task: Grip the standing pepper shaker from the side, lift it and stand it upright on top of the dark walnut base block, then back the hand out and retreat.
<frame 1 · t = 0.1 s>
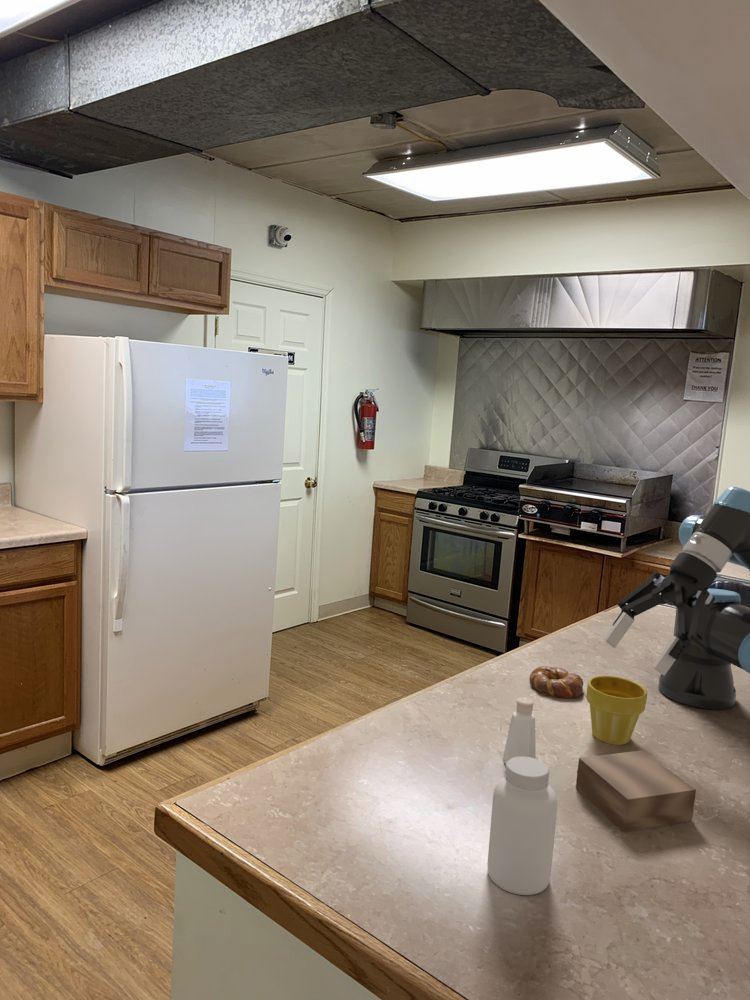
hand: (632, 657, 132), 15 cm above the counter, tool tilted 35°, fingers open, 13 cm apart
pill bottle: (517, 877, 93), on the counter
braided bread ring: (554, 689, 155), on the counter
pepper shaker: (519, 763, 122), on the counter
plant pot: (611, 737, 134), on the counter
walnut base: (631, 803, 112), on the counter
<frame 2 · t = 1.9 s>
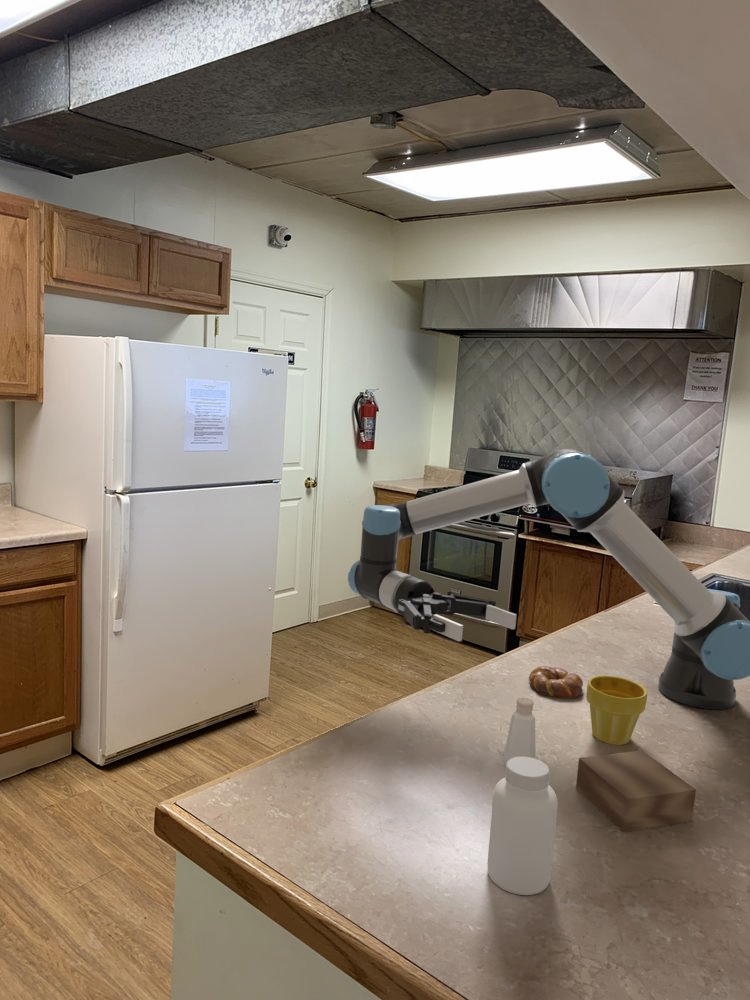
hand: (488, 627, 127), 21 cm above the counter, tool horizontal, fingers open, 13 cm apart
nothing on the counter moved.
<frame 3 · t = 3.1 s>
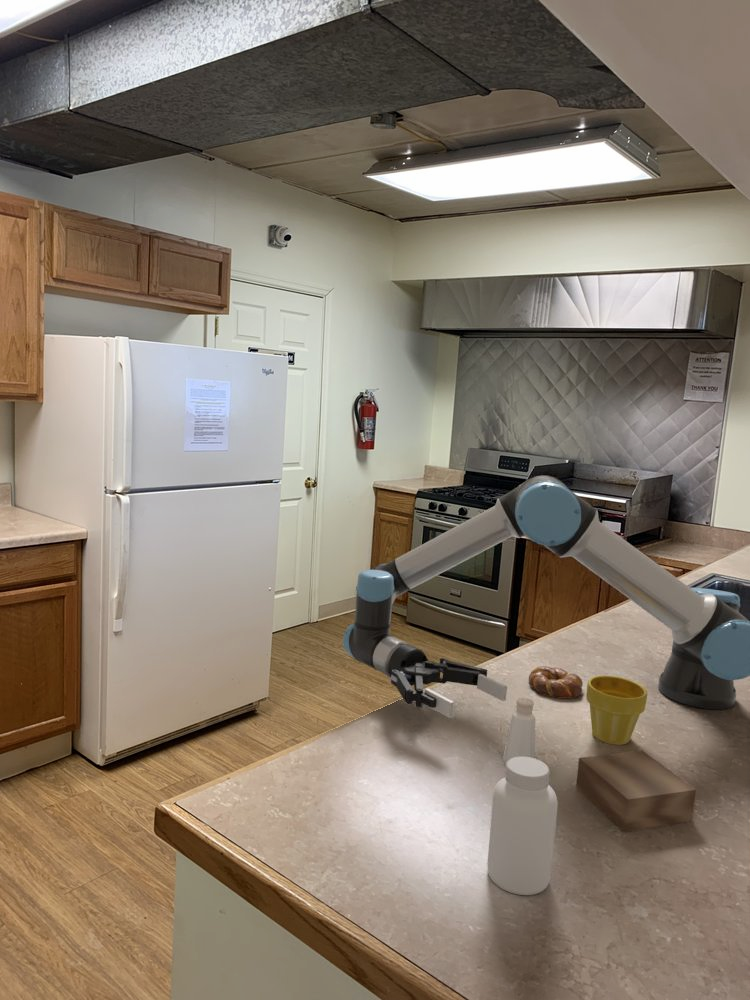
hand: (479, 701, 129), 7 cm above the counter, tool horizontal, fingers open, 13 cm apart
nothing on the counter moved.
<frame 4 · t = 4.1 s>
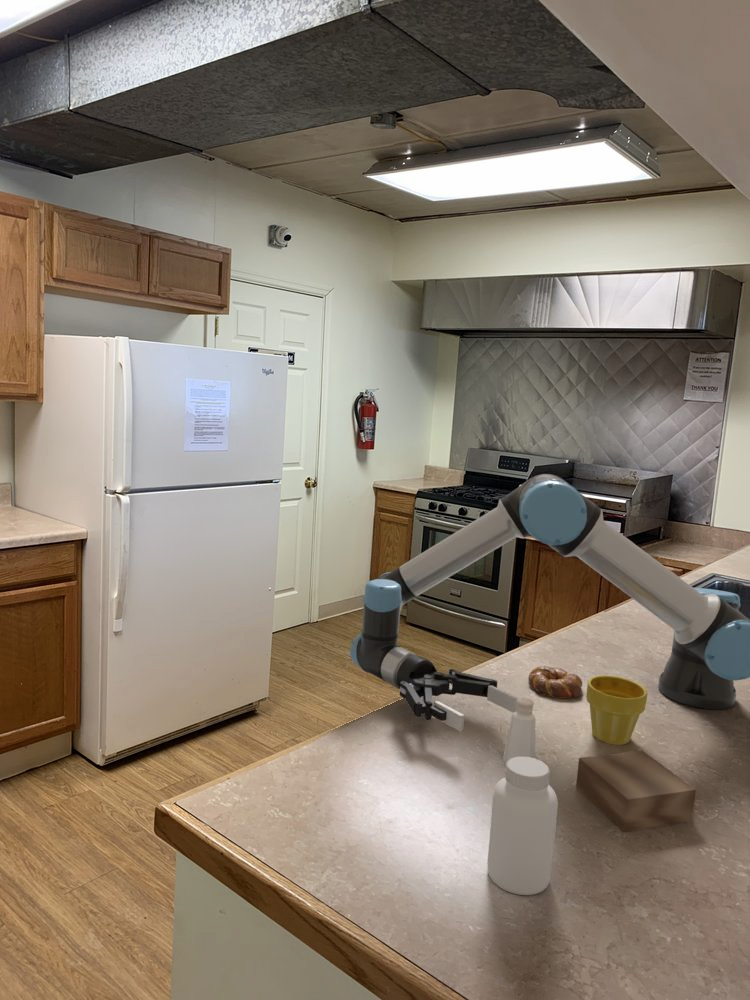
hand: (490, 714, 127), 6 cm above the counter, tool horizontal, fingers open, 13 cm apart
nothing on the counter moved.
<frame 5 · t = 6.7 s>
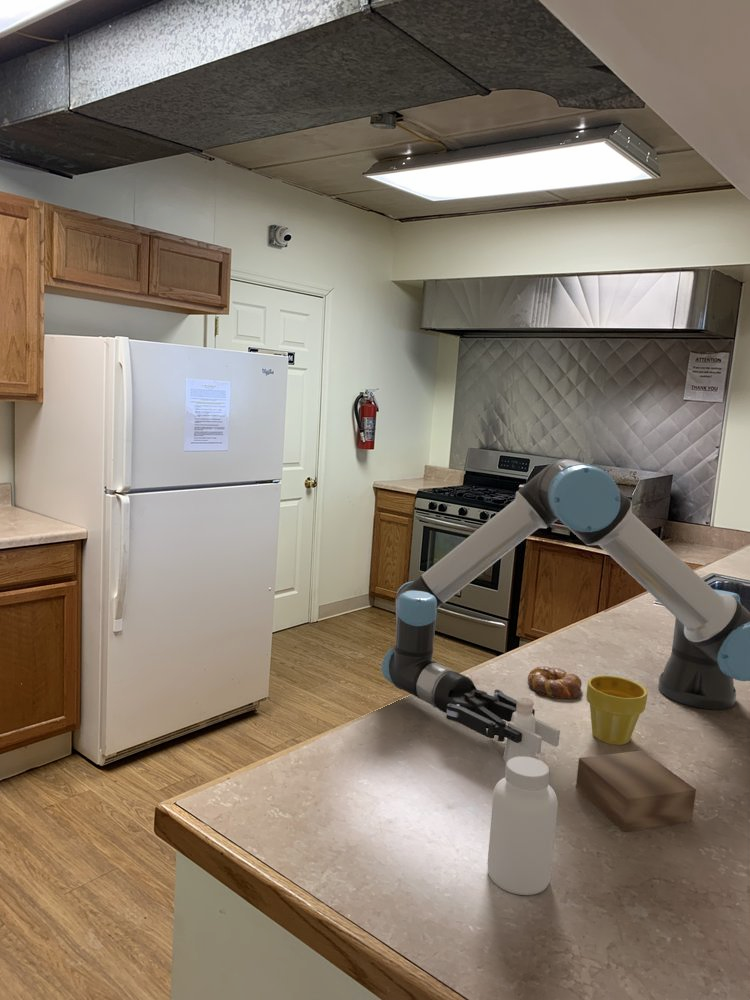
hand: (548, 741, 117), 6 cm above the counter, tool horizontal, fingers closed on pepper shaker, 4 cm apart
pepper shaker: (519, 763, 122), on the counter, touching gripper
everything else where it was.
when the fingers open (12 cm above the counter, at t = 11.5 s): pepper shaker drops 1 cm, resting on walnut base.
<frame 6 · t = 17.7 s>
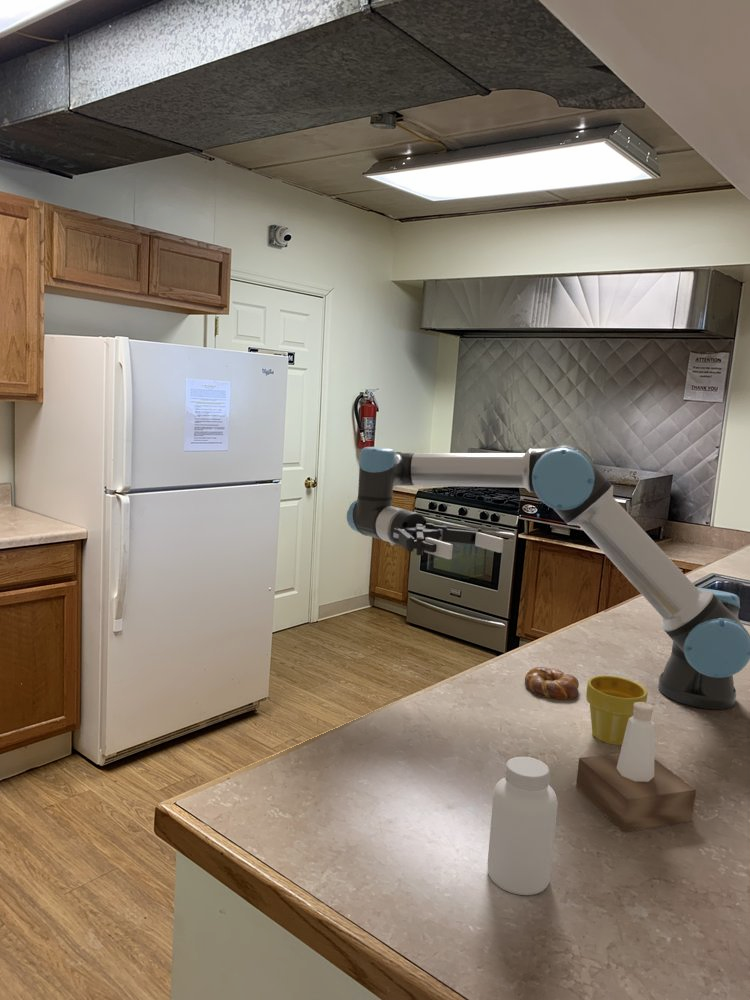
hand: (477, 548, 136), 32 cm above the counter, tool horizontal, fingers open, 13 cm apart
pepper shaker: (634, 774, 111), point 5 cm above the counter, touching walnut base
at the end: pepper shaker inside the target area on the walnut base (0.2 cm from its centre), point 4.8 cm above the walnut base's base; pepper shaker tilted 0°; the gripper is holding nothing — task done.
